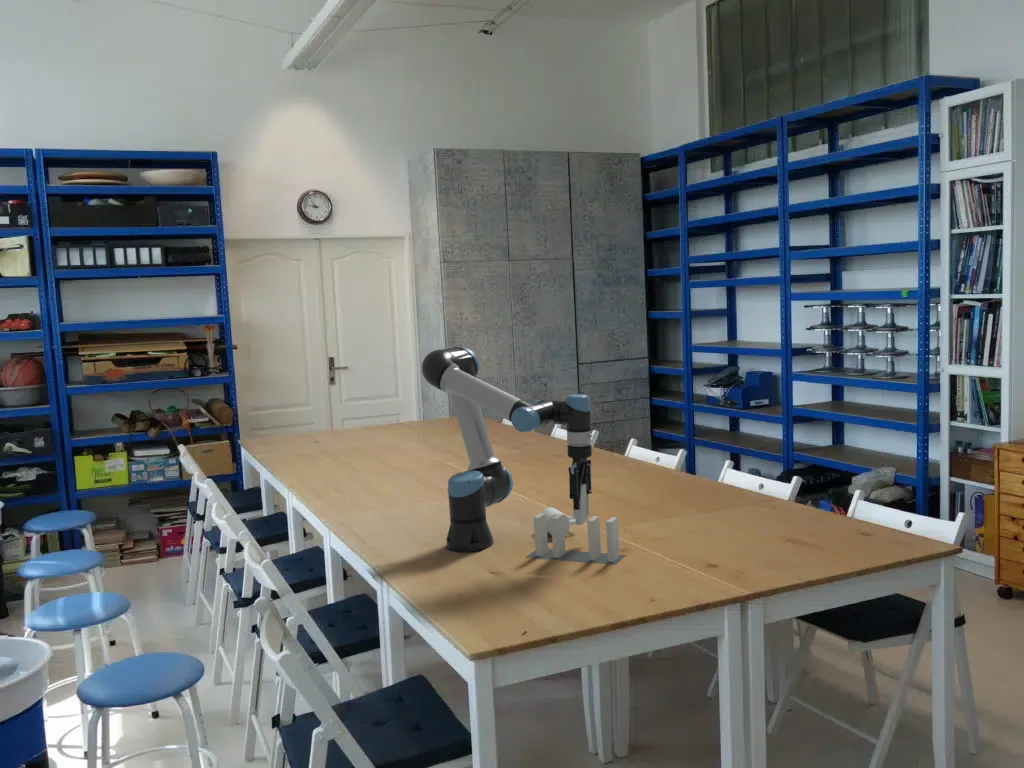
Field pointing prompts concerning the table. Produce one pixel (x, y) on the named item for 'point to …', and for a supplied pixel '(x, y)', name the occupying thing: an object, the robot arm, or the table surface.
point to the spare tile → (583, 505)
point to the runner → (575, 557)
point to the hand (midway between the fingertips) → (581, 516)
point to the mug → (553, 512)
